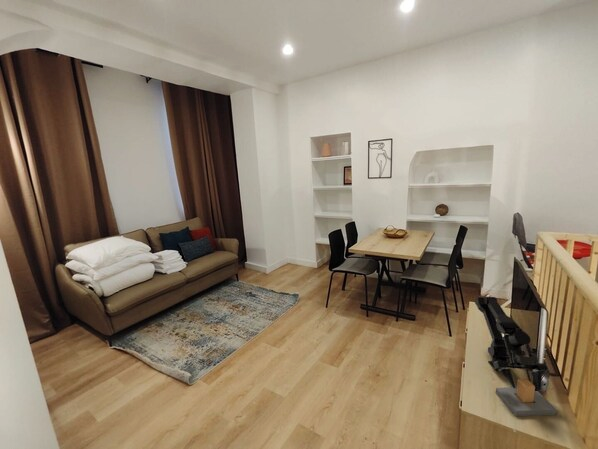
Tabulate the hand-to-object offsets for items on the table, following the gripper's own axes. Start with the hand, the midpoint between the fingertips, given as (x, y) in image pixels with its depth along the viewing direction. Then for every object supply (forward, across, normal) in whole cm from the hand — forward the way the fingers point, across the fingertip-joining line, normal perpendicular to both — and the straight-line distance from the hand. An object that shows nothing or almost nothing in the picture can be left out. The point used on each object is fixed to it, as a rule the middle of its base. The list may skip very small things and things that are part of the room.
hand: (526, 389), depth 115 cm
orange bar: (+5, 0, +6) cm, 8 cm away
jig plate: (+5, 0, +6) cm, 8 cm away
